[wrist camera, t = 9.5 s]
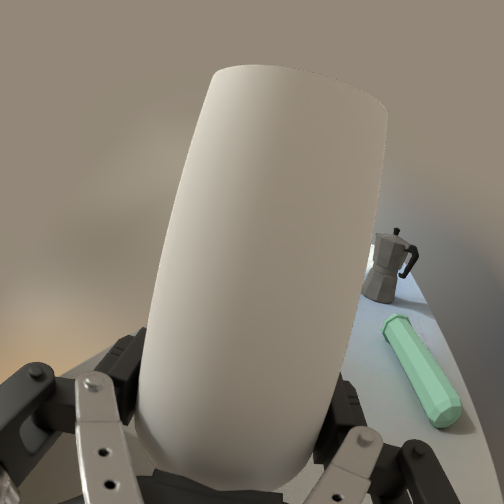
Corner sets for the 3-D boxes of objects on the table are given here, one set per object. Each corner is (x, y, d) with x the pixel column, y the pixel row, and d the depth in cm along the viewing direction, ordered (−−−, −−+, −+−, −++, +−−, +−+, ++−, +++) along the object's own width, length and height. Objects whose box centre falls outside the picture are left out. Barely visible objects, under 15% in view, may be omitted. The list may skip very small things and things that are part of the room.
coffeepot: (348, 285, 81) (367, 218, 76) (373, 286, 84) (391, 223, 80) (386, 312, 67) (411, 236, 62) (411, 310, 71) (434, 240, 66)
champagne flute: (222, 593, 10) (455, 84, 4) (125, 544, 12) (119, 53, 6) (261, 524, 16) (410, 144, 10) (176, 486, 18) (237, 109, 12)
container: (474, 396, 28) (410, 310, 52) (432, 410, 29) (380, 316, 53) (464, 427, 29) (409, 337, 53) (425, 441, 30) (380, 344, 54)
